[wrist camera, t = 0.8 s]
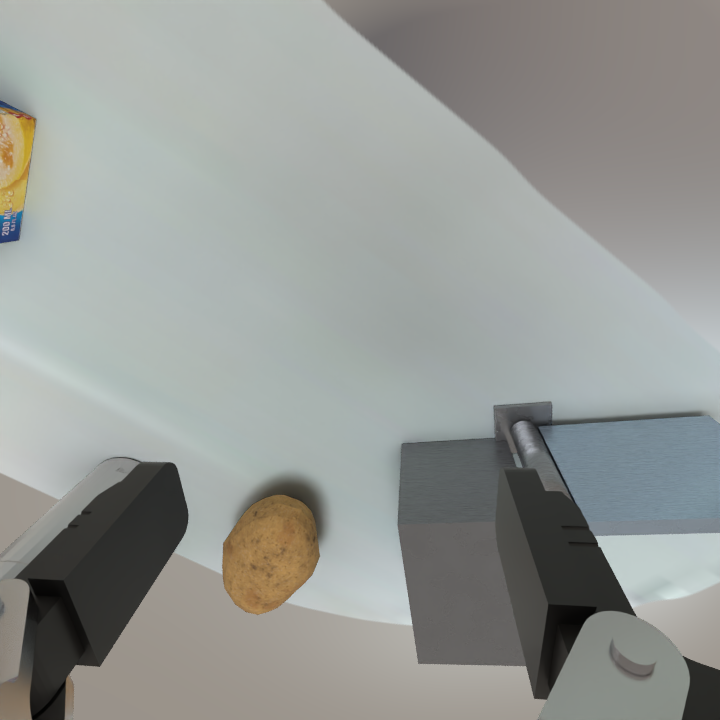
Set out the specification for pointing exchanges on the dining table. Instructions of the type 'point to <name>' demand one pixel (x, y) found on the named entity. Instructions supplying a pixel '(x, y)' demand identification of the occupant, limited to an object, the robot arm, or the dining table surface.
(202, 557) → the dining table surface
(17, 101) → the dining table surface
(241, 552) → the potato
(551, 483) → the dough scraper
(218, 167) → the dining table surface
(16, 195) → the blue cardboard box
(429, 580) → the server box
